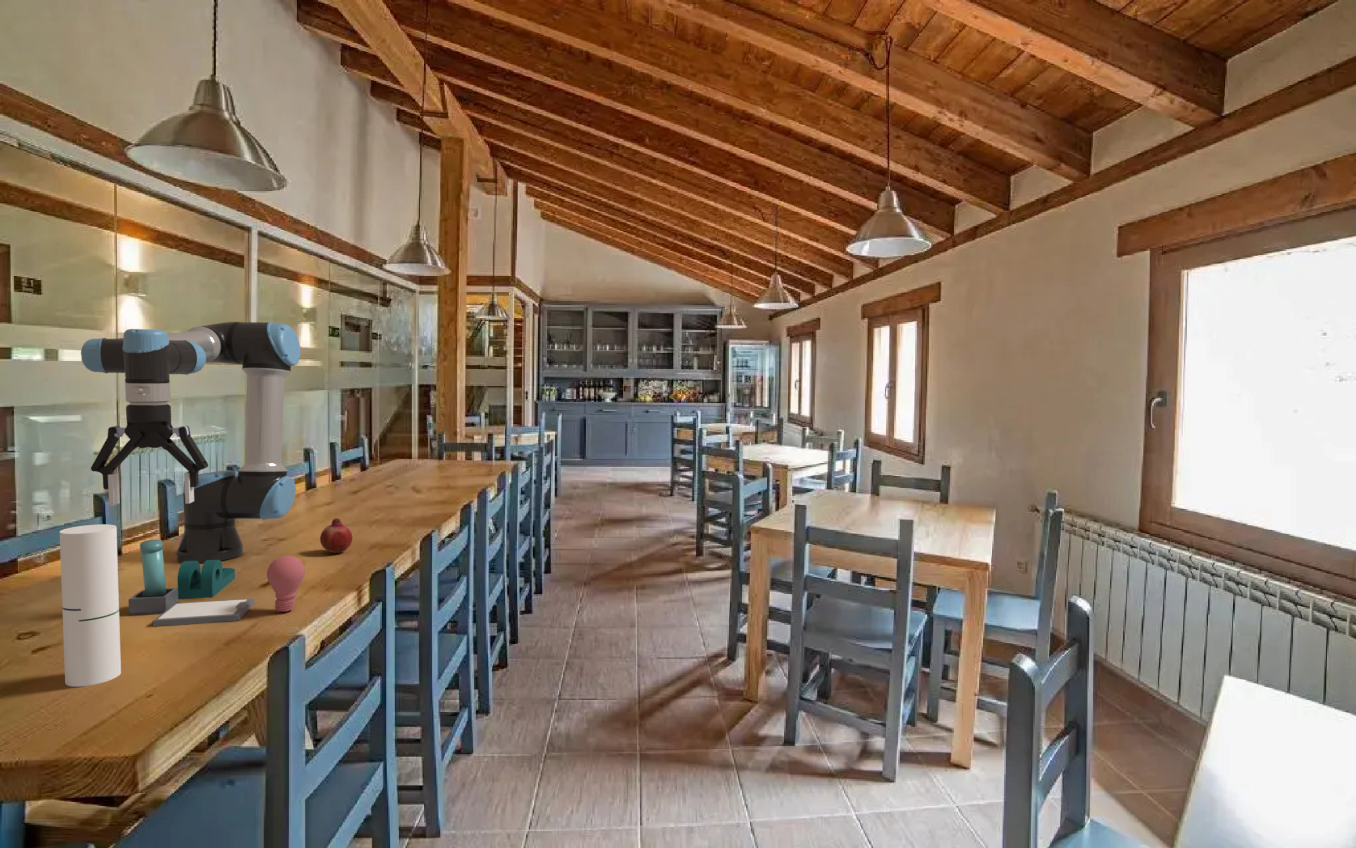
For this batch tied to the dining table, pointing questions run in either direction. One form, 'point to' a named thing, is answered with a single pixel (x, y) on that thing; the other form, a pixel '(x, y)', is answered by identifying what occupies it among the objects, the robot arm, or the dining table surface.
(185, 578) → the bracket
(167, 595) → the pen holder
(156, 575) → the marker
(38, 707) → the dining table surface
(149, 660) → the dining table surface
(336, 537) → the fruit
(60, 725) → the dining table surface
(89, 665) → the cylindrical container
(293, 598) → the light bulb
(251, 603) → the clipboard
